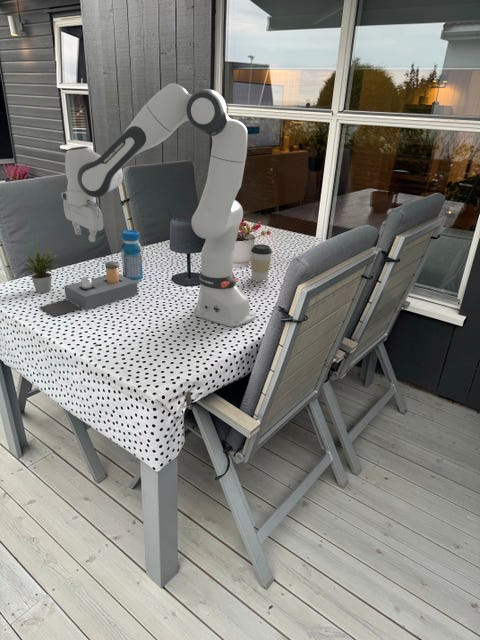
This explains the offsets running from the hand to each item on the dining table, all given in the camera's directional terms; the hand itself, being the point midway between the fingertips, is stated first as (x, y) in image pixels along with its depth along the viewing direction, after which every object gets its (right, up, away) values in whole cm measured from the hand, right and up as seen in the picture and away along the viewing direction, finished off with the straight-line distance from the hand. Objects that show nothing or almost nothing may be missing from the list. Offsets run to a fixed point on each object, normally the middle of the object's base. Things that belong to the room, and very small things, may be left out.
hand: (85, 237), depth 157 cm
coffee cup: (+63, -11, +40) cm, 75 cm away
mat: (-9, -25, +1) cm, 26 cm away
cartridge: (+5, -18, +16) cm, 25 cm away
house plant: (-21, -18, +13) cm, 31 cm away
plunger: (-2, -19, +7) cm, 20 cm away
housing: (+2, -20, +13) cm, 24 cm away
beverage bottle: (+9, -12, +31) cm, 35 cm away
